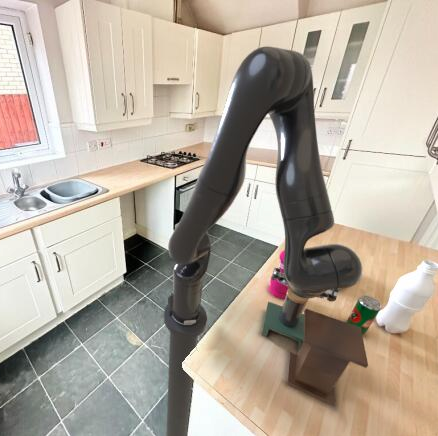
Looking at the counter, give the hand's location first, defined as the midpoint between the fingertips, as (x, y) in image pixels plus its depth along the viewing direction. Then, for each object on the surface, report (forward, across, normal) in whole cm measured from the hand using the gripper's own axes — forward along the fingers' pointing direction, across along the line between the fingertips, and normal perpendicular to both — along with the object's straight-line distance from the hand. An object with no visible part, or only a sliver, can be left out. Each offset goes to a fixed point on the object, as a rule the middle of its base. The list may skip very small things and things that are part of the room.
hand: (299, 286), depth 68 cm
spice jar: (+8, 0, +10) cm, 13 cm away
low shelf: (+11, 0, +13) cm, 17 cm away
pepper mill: (+23, +4, +2) cm, 24 cm away
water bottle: (+26, -26, -1) cm, 37 cm away
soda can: (+21, -18, +4) cm, 28 cm away
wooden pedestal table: (+3, -8, +21) cm, 23 cm away
